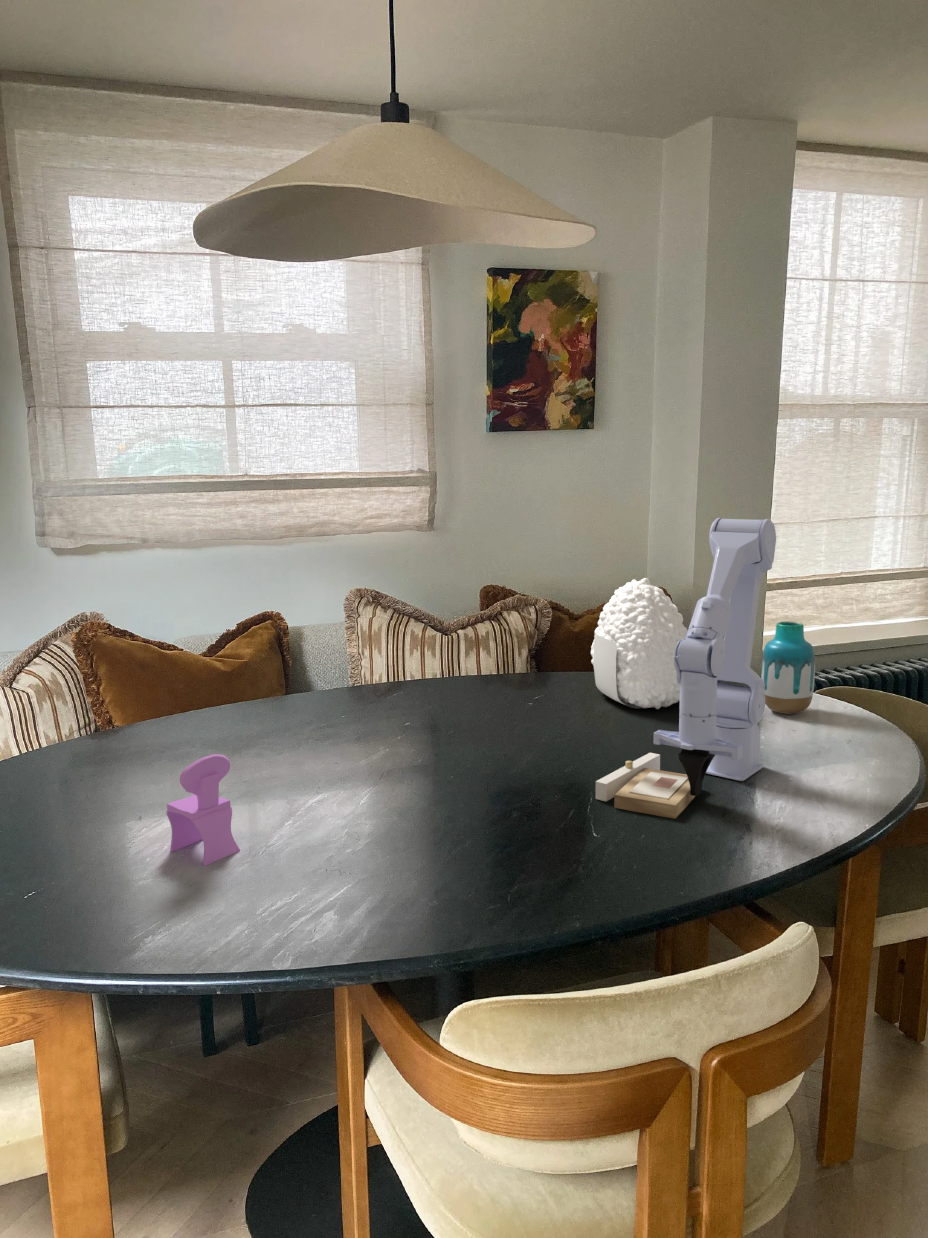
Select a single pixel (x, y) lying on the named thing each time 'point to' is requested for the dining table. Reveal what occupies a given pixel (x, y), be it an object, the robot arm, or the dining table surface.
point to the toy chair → (203, 810)
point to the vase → (788, 669)
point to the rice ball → (638, 647)
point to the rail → (624, 776)
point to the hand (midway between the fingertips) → (695, 793)
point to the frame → (655, 793)
